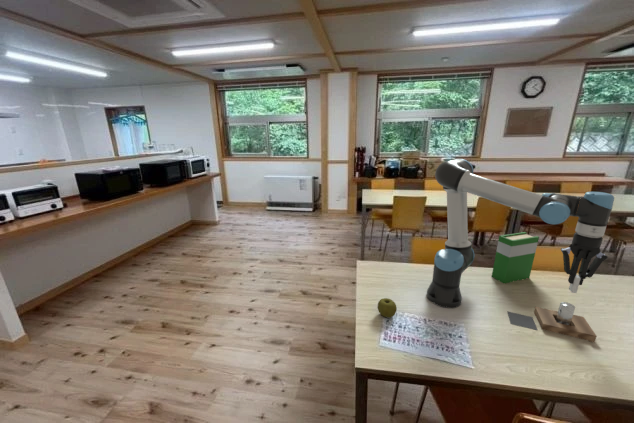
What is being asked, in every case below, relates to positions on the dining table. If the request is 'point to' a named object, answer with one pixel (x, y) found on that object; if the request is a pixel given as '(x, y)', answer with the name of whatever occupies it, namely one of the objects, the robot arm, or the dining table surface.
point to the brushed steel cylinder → (565, 313)
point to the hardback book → (514, 257)
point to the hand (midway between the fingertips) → (572, 290)
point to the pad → (522, 320)
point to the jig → (575, 329)
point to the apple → (387, 307)
